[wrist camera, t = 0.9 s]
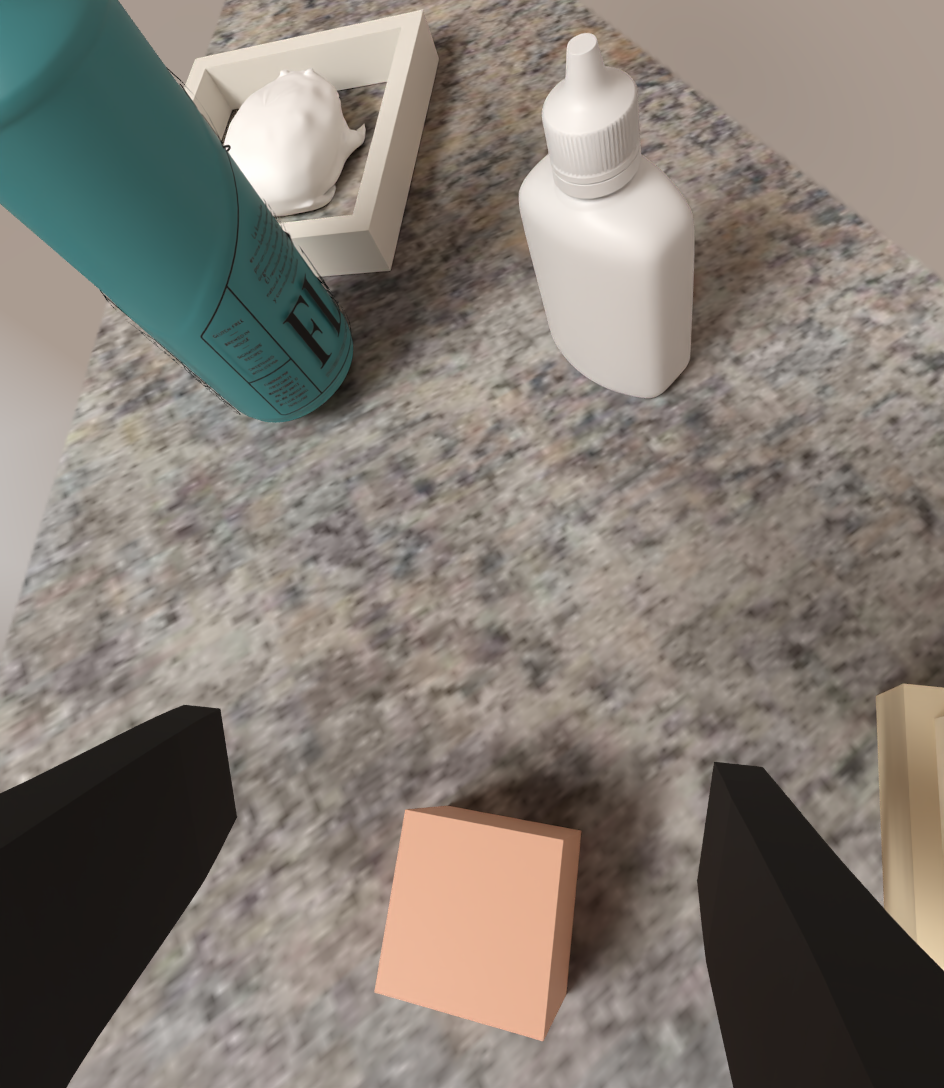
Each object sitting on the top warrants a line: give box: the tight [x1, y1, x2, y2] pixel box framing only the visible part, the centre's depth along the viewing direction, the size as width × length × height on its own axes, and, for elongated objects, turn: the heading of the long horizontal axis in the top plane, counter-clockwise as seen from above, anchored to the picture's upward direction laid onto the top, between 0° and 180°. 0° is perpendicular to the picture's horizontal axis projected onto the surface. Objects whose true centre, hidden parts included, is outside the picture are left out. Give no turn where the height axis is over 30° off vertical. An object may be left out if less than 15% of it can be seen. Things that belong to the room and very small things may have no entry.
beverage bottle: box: [0, 0, 353, 422], centre depth 21 cm, size 6×7×20 cm
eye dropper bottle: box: [519, 33, 695, 398], centre depth 21 cm, size 4×6×12 cm
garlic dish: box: [184, 10, 439, 277], centre depth 34 cm, size 14×14×2 cm
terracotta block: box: [375, 806, 581, 1041], centre depth 19 cm, size 4×4×4 cm
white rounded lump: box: [223, 68, 366, 216], centre depth 34 cm, size 8×7×4 cm
